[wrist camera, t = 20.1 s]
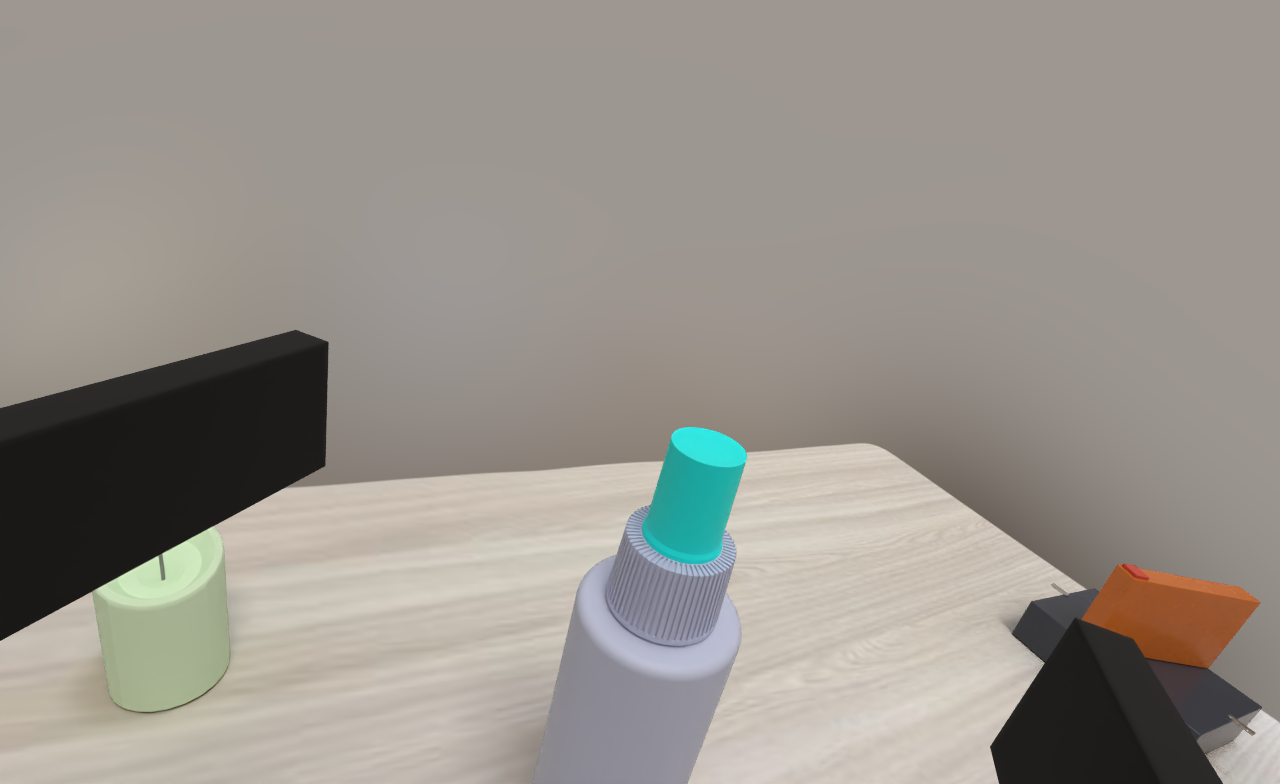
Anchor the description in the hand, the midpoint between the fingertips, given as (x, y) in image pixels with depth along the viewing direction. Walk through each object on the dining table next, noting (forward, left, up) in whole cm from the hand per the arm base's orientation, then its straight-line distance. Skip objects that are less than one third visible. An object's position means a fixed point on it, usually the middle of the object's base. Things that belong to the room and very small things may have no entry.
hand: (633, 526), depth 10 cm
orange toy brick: (+45, -22, -21) cm, 55 cm away
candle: (+1, +24, -24) cm, 34 cm away
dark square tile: (+45, -22, -24) cm, 56 cm away
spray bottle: (+8, +2, -24) cm, 26 cm away
